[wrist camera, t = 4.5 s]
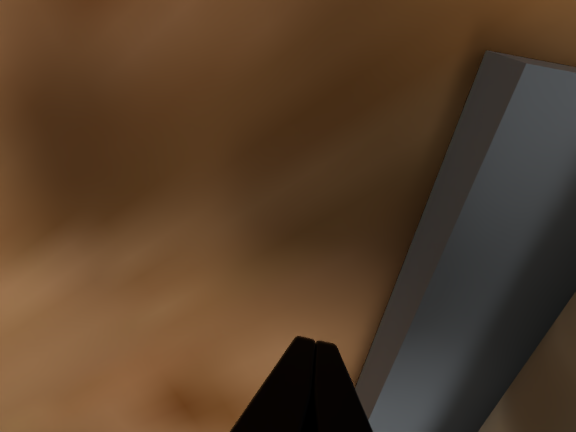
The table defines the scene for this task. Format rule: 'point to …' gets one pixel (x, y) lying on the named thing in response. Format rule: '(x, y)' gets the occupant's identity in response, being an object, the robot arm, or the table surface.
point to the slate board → (482, 255)
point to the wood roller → (543, 384)
